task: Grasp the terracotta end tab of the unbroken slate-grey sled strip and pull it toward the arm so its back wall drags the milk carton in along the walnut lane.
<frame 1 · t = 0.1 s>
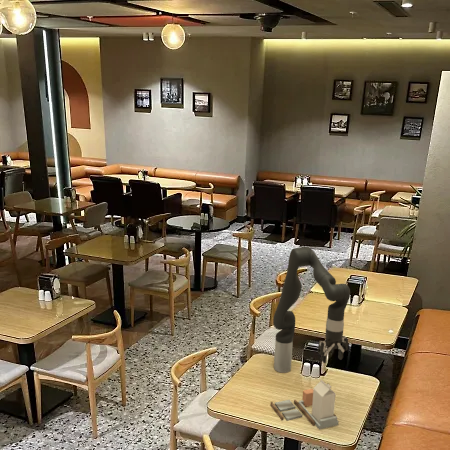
hand: (331, 360, 215), 29 cm above the table, fingers open, 8 cm apart
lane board: (310, 406, 230), on the table
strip: (317, 407, 223), point 4 cm above the table, slide at 0.0 cm
milk carton: (322, 420, 220), resting in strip
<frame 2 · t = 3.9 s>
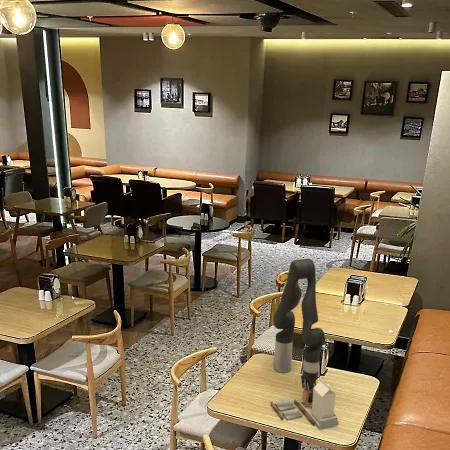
hand: (308, 400, 231), 2 cm above the table, fingers closed on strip, 3 cm apart
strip: (317, 407, 223), point 4 cm above the table, slide at 0.0 cm, touching gripper
everything else where it was.
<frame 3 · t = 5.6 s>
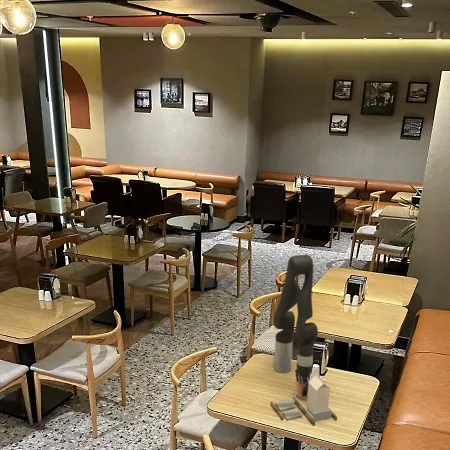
hand: (302, 393, 236), 2 cm above the table, fingers closed on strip, 3 cm apart
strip: (311, 400, 228), point 4 cm above the table, slide at 5.7 cm, touching gripper
milk carton: (316, 413, 225), resting in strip
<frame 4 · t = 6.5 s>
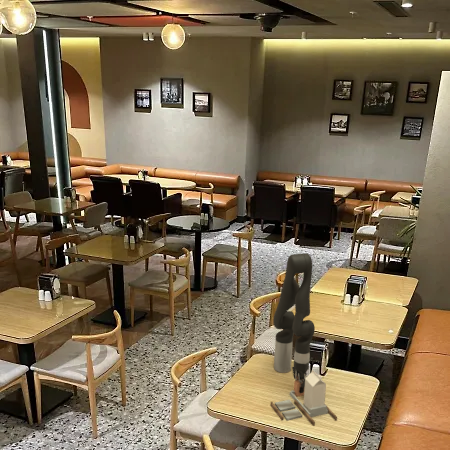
hand: (299, 390, 239), 2 cm above the table, fingers closed on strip, 3 cm apart
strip: (308, 397, 231), point 4 cm above the table, slide at 8.8 cm, touching gripper, milk carton
milk carton: (313, 409, 227), resting in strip
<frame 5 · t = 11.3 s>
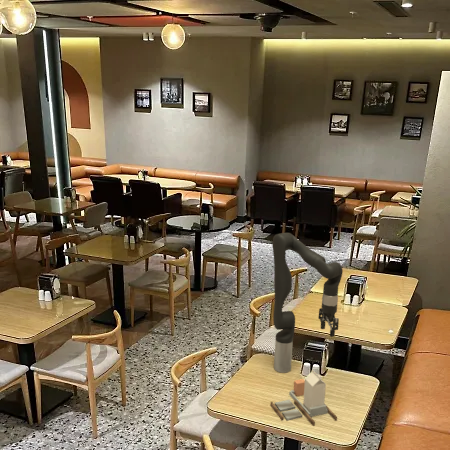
hand: (327, 332, 239), 30 cm above the table, fingers open, 8 cm apart
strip: (308, 396, 231), point 4 cm above the table, slide at 9.0 cm
milk carton: (313, 409, 228), resting in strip
at the end: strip slide at 9.0 cm; milk carton inside the target area (0.8 cm from its centre), resting in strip; milk carton tilted 0° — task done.
